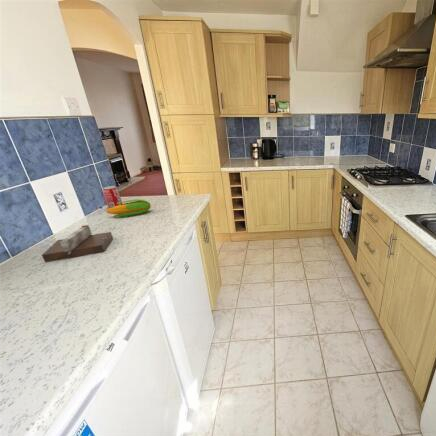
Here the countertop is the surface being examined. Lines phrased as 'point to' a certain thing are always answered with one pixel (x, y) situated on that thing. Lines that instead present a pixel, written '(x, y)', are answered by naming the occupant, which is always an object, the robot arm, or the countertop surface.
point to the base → (79, 247)
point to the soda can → (111, 196)
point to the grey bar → (75, 238)
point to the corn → (130, 208)
